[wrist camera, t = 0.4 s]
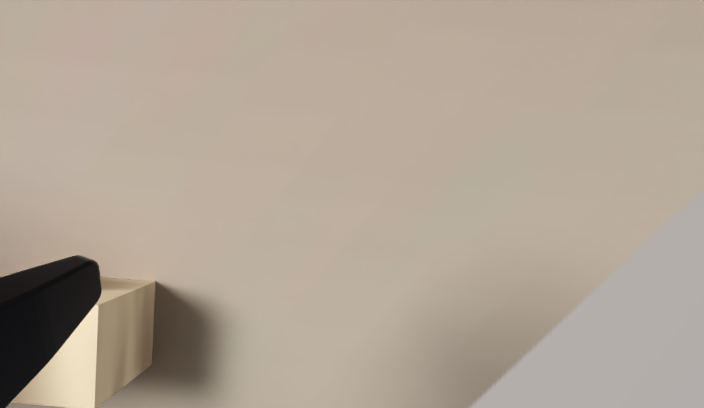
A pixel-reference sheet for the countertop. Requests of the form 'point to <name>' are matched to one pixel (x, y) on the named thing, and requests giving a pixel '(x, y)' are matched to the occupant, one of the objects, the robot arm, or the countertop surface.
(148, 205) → the countertop surface
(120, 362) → the maple block
